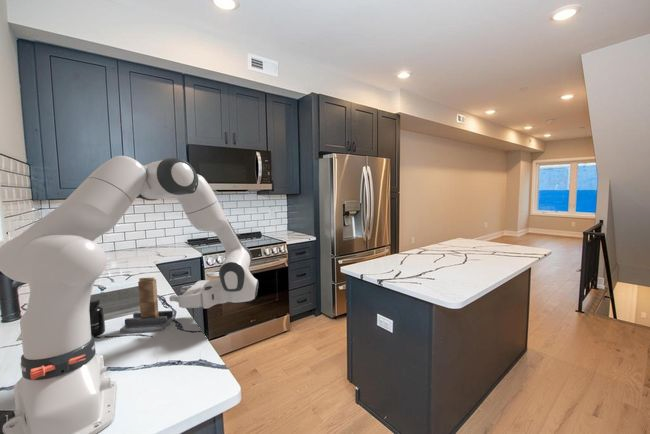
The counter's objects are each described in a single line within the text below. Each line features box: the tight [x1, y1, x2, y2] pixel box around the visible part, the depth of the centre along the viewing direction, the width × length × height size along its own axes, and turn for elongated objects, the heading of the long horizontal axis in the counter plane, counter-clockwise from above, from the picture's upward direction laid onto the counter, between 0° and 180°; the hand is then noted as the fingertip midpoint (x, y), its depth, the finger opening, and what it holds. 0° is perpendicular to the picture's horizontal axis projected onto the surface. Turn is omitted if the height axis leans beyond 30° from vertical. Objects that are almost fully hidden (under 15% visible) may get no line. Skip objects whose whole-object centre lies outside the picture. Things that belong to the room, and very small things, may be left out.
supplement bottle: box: [89, 298, 106, 338], centre depth 99 cm, size 7×7×12 cm
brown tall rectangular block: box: [137, 276, 159, 318], centre depth 105 cm, size 5×2×16 cm, turn 95°
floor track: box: [119, 310, 176, 334], centre depth 105 cm, size 14×10×4 cm
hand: (176, 293), depth 106 cm, fingers open, 8 cm apart
